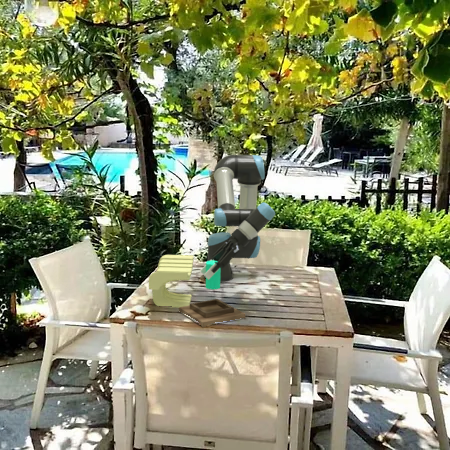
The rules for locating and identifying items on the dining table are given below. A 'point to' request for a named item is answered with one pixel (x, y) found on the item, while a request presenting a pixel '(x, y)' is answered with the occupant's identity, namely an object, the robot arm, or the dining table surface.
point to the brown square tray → (211, 312)
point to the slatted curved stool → (167, 272)
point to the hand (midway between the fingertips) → (204, 275)
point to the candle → (213, 277)
